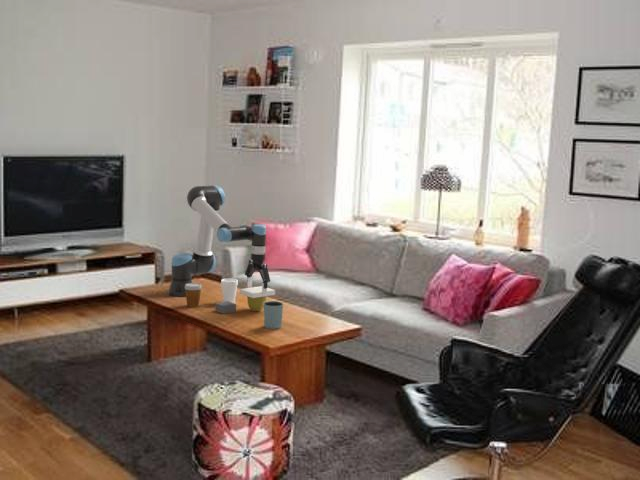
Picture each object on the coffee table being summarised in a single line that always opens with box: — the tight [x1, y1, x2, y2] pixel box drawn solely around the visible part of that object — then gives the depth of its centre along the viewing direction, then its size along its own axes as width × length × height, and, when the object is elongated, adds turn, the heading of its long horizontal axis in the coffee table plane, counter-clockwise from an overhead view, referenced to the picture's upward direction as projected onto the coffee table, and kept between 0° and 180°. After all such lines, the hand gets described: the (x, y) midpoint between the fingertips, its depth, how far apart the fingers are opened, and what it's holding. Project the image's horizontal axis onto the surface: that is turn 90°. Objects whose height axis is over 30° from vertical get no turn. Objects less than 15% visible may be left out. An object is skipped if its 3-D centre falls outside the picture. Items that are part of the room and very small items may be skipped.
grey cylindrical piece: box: [262, 300, 284, 330], centre depth 366 cm, size 10×10×12 cm
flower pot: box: [246, 296, 267, 312], centre depth 397 cm, size 9×9×9 cm
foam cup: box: [220, 278, 239, 304], centre depth 409 cm, size 10×9×13 cm
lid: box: [239, 285, 276, 298], centre depth 396 cm, size 12×15×2 cm
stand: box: [214, 301, 237, 314], centre depth 392 cm, size 8×8×4 cm
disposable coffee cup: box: [184, 282, 203, 308], centre depth 399 cm, size 10×10×12 cm
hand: (256, 291), depth 396 cm, fingers open, 13 cm apart
